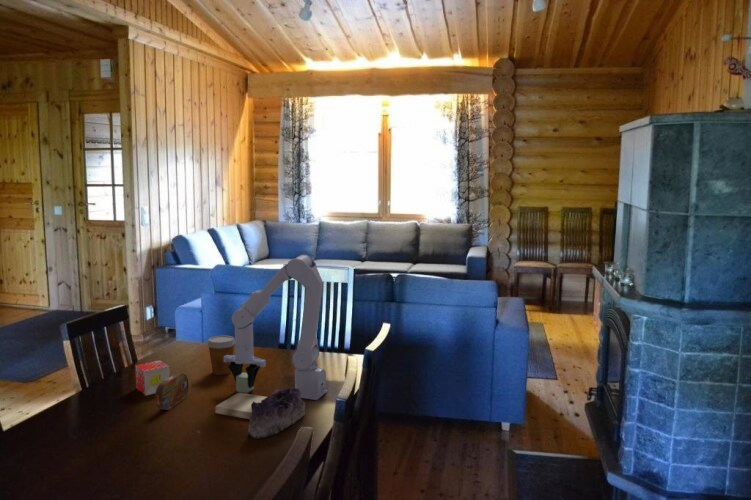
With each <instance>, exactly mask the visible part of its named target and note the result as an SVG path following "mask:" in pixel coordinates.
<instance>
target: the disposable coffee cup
mask: <svg viewBox="0 0 751 500" xmlns="http://www.w3.org/2000/svg"><path fill="white" fill-rule="evenodd" d="M206 344H207V346H208V349H209V350H208V351H209V357H210V363H211V364H210V365H211V369H212V374H214V375H216V376H217V375H218V376H224V375H229V374H230V373H232V372H231V370H230V369H229V365H230V364H231V362H224V356H226V355H234V350H235V349H234V348H235V337H234V336H231V335H216V336H212V337H209V338H208V341H207V343H206Z"/></svg>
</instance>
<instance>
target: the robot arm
mask: <svg viewBox="0 0 751 500" xmlns="http://www.w3.org/2000/svg"><path fill="white" fill-rule="evenodd" d="M291 279H293V280H295V281H296V282H298V283H300V284H301V285H302V286H303V288H305V294H304V296H305V297H304V303H303V304H304V305H303V312H302V319H301V327H300V328H301V329H300V336H299V340H298V343H297V346H296V350H295V353H293V356H292V364H293V365H294V388H296V389H299V390H300V391H301V395H300V398H301V399H307V400H313V401H318V400H319V399H320V398H321V397H322V396H324V395H325V394H326V393H327V392H328V390H327V373H326V372H327V371H326V370H325V369H324V368H320V367H319V366H318V365H319V364H318V362H317V359H318V358H319V356H320V350H319V346H318V338H317V337H318V336H317V334H318V325H319V319H320V311H321V310H320V309H321V304H322V303H321V302H322V294H323V288H324V282H323V279H322V277H321V275H320V271H319V270H318V266H317V263H316V262H315V260H314V259H312V257H311V256H310V255H307V254H301V255H298V256H297V257H296V258H292V259H290V260H289V261H288V263H286V264H284V265H283V266H282V267H280V268H279V270H278V271H277V272H276V273H275V274H274V275H273V277H272V278H271V279H270V280H269V281H268V282H267V284H266V285H265V286H264V288H262V289H258V290H255V291H252V292H250V293H249V297H248V299H246V301H245V302H242V303H241V304H240V305H239V306H240V308H239V309H236V310H235V311H233V313H232V315H231V322H232V324H233V326H234V340H235V344H234V348H235V349H234V353H235V354H233V355H226V356H224V362H231V364H230V365H229V369H230V370H231V372H230V373H231V374H232V376H233V379H234V382H235V383H236V376H238V375H239V374H241V373H243V366H244V365H248V366H246V367H245V371H246V373H247V375H248V386H249V388H251V387H253V386H254V387H255V381H256V378H257V375H258V372H259V370H260V369H261V368H265V367H266V366H267V360H266V359H262V358H259V357H256V356H254V354H255V353H254V322H255V321H256V318H257V317H258V316H259V314H260V313H262V311H263V310H264V309H265V308H266V307H267V306H268V305H269V304H270V302H271V301H270V297H271V296H272V295H273V294H274V293H275V292H276V290H278V289H279V288H280V287H281V286H282V284H284V283H285V282H286V281H290V280H291Z"/></svg>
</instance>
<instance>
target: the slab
mask: <svg viewBox="0 0 751 500" xmlns="http://www.w3.org/2000/svg"><path fill="white" fill-rule="evenodd" d="M267 397H268V396H262V395H257V394H249V393H244V392H236V393H235V394H234V395H232V396H230V397H229V398H226V400H223V401H222V402H220V403H218V404H217V405H216V406H214V407H215V409H214V410H215V413H214V414H219V415H225V416H229V417H230V416H231V417H235V418H241V419H248V420H250V416H251V415H252V409H251V404H252V403H253V401H254V402H255V403H258V402H259V403H261V401H262V400H264V399H265V398H267Z"/></svg>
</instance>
